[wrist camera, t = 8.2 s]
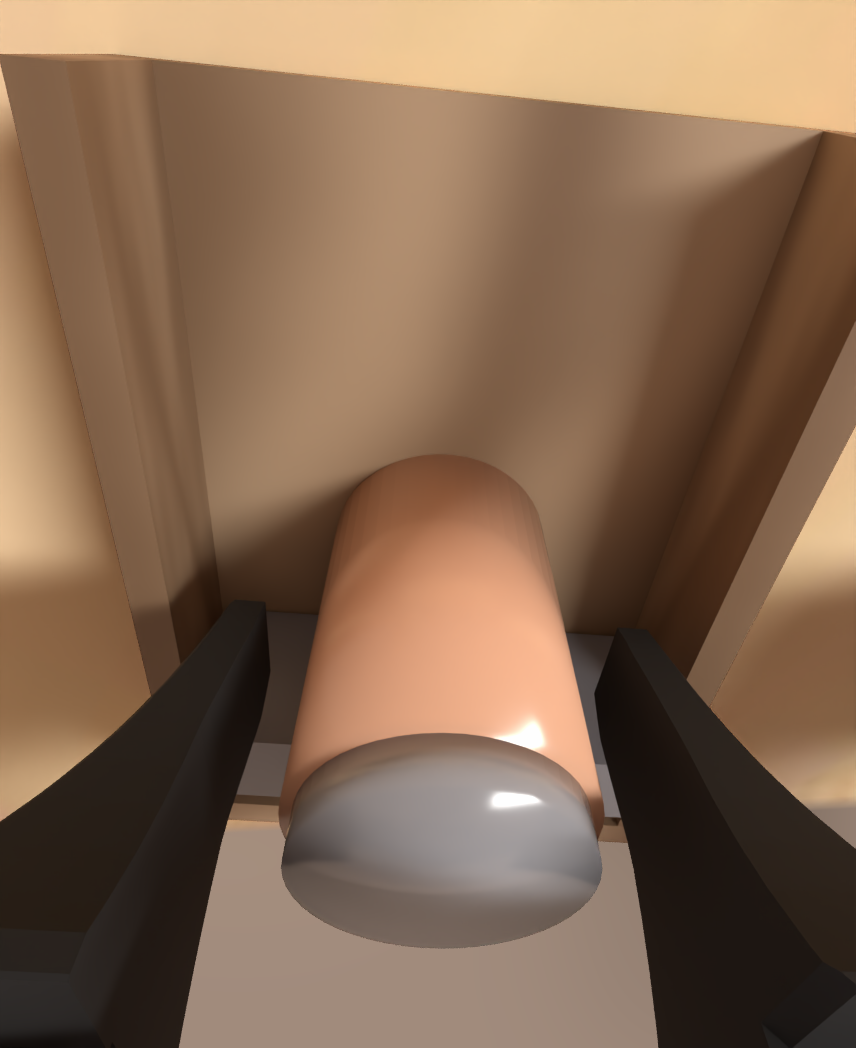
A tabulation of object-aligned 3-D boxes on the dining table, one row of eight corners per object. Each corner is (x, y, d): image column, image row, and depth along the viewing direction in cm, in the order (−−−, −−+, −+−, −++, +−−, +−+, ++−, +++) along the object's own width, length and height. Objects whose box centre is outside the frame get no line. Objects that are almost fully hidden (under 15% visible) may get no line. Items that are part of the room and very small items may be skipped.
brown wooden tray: (855, 133, 11) (993, 159, 8) (611, 737, 21) (638, 843, 18) (113, 54, 11) (-2, 54, 8) (215, 711, 21) (180, 816, 18)
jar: (564, 467, 15) (666, 794, 8) (518, 627, 18) (567, 962, 11) (341, 441, 14) (264, 760, 8) (332, 608, 17) (269, 942, 11)
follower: (618, 636, 18) (676, 820, 13) (601, 686, 19) (648, 869, 15) (236, 609, 17) (170, 789, 13) (242, 661, 18) (183, 843, 14)
